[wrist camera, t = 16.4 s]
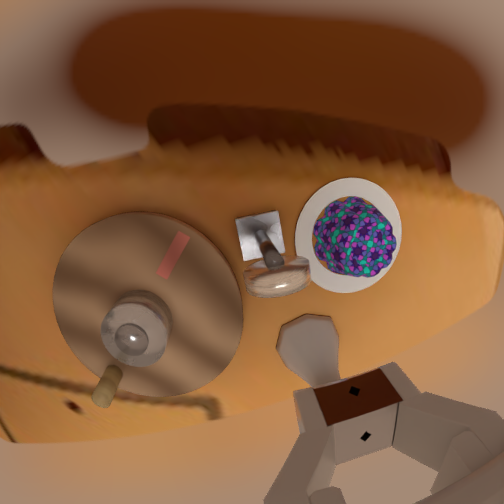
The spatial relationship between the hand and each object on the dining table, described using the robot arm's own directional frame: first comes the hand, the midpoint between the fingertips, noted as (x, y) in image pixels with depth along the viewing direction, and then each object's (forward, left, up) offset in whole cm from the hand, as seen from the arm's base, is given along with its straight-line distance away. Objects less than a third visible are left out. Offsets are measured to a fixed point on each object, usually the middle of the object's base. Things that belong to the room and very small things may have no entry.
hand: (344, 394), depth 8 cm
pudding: (+9, -2, -24) cm, 25 cm away
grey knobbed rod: (0, 0, -23) cm, 23 cm away
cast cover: (-13, -5, -20) cm, 25 cm away
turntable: (-13, -5, -23) cm, 27 cm away
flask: (+3, -13, -23) cm, 27 cm away
